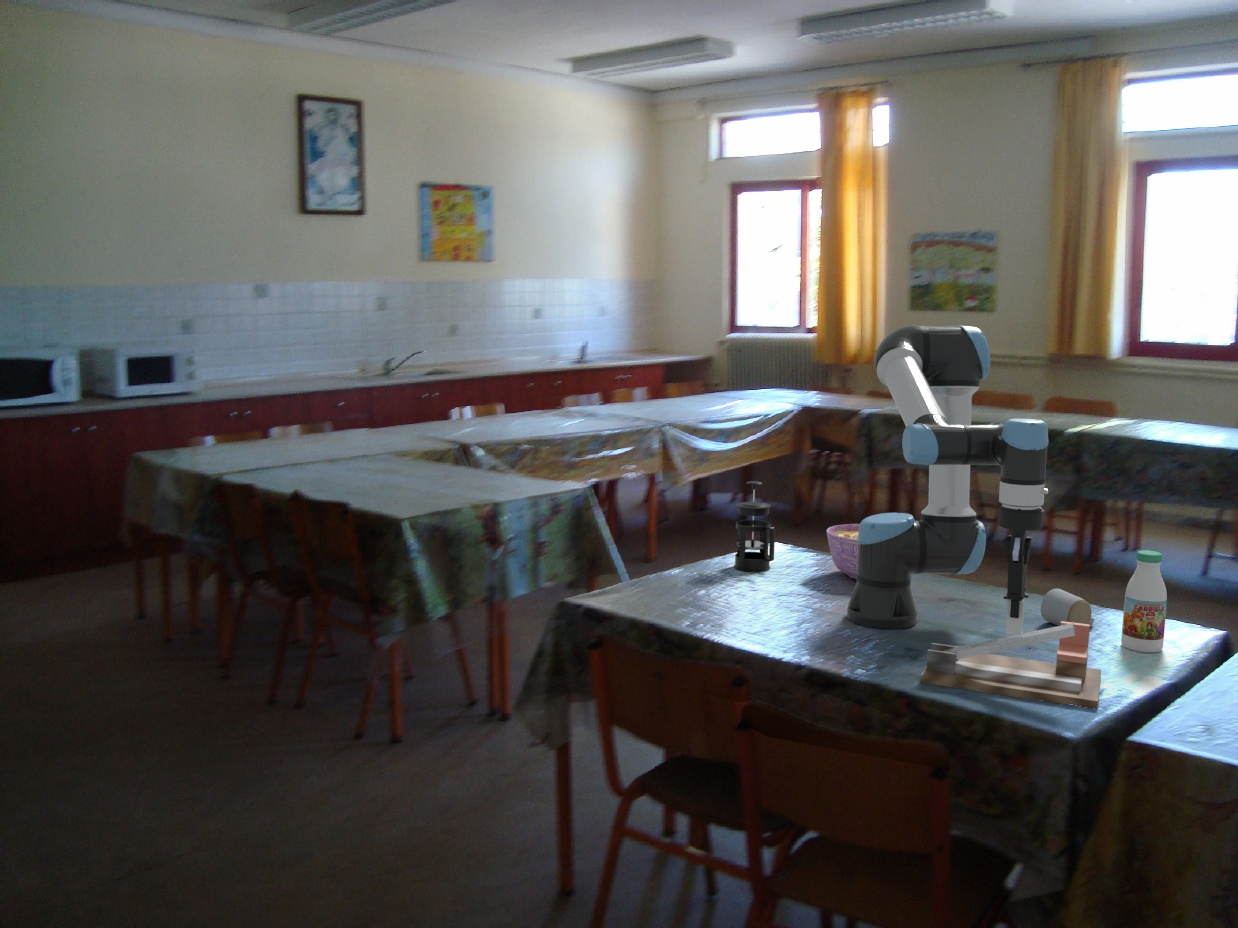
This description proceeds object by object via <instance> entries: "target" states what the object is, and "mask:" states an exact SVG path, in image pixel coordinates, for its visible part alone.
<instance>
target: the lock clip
mask: <svg viewBox="0 0 1238 928" xmlns="http://www.w3.org/2000/svg"><path fill="white" fill-rule="evenodd" d="M1071 623H1073V622H1064V621H1061V625H1066V624H1071ZM1073 624H1074V627H1075V630H1076V633H1075V636H1071V637H1066V638H1061V639H1059V644H1058V647H1057V652H1056V661H1057V660H1059V661H1067V662H1074V663H1081V664H1086V662H1087V663H1088V658H1087V655H1089V643H1090V628H1091V625H1089V624H1081V623H1073Z"/></svg>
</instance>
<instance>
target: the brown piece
mask: <svg viewBox="0 0 1238 928" xmlns="http://www.w3.org/2000/svg"><path fill="white" fill-rule="evenodd" d="M930 646H931V647H930V649H927V653H926V666H925V668H924V670H923V671H922V672H921V674H920V683H921V684H922V683H923V684H928V685H934V686H940V687H941V686H942V687H949V688H954V689H961V690H967V689H971V690H970V691H973V690H976V691H975V692H980V691H982V692H981V693H987V694H993V693H995V694H994V695H999V694H1000V696H1006V697H1014V698H1019V697H1020V699H1024V700H1025V699H1028V700H1033V701H1038V700H1043V701H1042V702H1045V701H1048V702H1047V703H1051V702H1054V703H1053V704H1058V703H1060V704H1059V705H1065V704H1073V705H1077V706H1076V707H1078V706H1081V707H1080V708H1084V707H1087V708H1086V709H1091V708H1095V709H1094V710H1098V709H1097V708H1098V706H1099V700H1100V699H1099V698H1100V689H1101V677H1102V669H1098V668H1092V667H1088V661H1087V662H1086V664H1081V663H1074V662H1067V661H1059V660H1057V659H1056V663H1055V662H1048V661H1042V660H1041V661H1040V660H1034V659H1027V658H1021V657H1020V658H1019V657H1013V656H1005V655H998V654H992V653H991V654H990V653H987V654H982V655H977V656H972V657H967V658H962V659H957V660H955V659H956V653H951V652H944V651H942V650H946V649H951V648H955V647H960V646H957V645H951V644H943V643H937V642H931V645H930ZM1088 655H1089V654H1088ZM1088 655H1087V659H1088V658H1089V656H1088Z"/></svg>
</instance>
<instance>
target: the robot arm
mask: <svg viewBox="0 0 1238 928" xmlns="http://www.w3.org/2000/svg"><path fill="white" fill-rule="evenodd" d="M873 359H874V361H873V365H874V370H875V374H876V376H877V378H878V380H879V382H880V383H881V384H882V385H884V386H885V387H887V388H888V390H889V391H888V392H889V393H890V394H891V397H892V399H893V401H894V404H895V406H896V408H897V410H898V412H899V414H900V416H901V418H902V421H903V423H904V425H905V428H904V431H903V433H902V439H901V440H902V441H901V444H902V445H901V446H902V451H903V452H902V453H903V454H902V455H903V458H904V460H905V461H906V462H907V463H909V464H913V465H922V466H929V467H928V504H927V505H926V506H925V508H924V509H922V511H921V512H920V520H915V518H914V516H913V515H912V514H910V513H907V512H885V513H884V512H883V513H878V514H873V515H870V516H867V517H864V518H863V519H862V520H861V521H860V523H859V524H860V526H859V533H858V539H857V542H858V556H857V579H856V583H855V587H854V588H853V592H852V594H851V596H850V599H849V602H848V604H847V608H846V609H847V610H846V617H847V618H846V619H848V621H851V622H852V623H855V624H857V625H860V626H864V627H869V628H875V629H886V630H888V629H889V630H890V629H893V630H897V629H905V628H910V627H912V626H914V625H916V624H917V623H918V610H917V608H918V607H917V605H916V602H915V598H914V595H913V591H912V588H911V585H912V582H911V581H912V575H913V574H914V575H925V574H926V575H935V574H936V575H946V574H948V575H952V576H956V575H961V574H962V575H966V574H971V573H974V572H975V571H977V570H978V568H979V566H980V565H981V563H982V560H983V558H984V555H985V552H986V545H987V543H986V542H987V535H986V529H985V525H984V524H983V522H982V521H980V520H978V519H977V513H976V512H975V510H974V509H973V508H972V507H971V506H970V493H971V492H970V485H971V484H970V482H971V466H1000V480H999V492H998V496H999V497H998V502H999V503H1000V504H1001V505H999V507H998V514H997V515H998V518H997V519H998V520H997V524H998V526H999V527H1001V528H1003V529H1008V530H1010V531H1011V535H1008V537H1006V548H1007V555H1006V557H1007V592H1006V594H1004V595H1003V599H1004V600H1007V604H1006V605H1007V606H1006V607H1007V608H1006V620H1005V621H1006V622H1005V625H1006V626H1005V634H1006V635H1012V636H1013V635H1021V636H1022V634H1023V628H1024V613H1025V612H1024V610H1025V608H1024V607H1025V599H1029V593H1026V590H1027V587H1026V581H1027V569H1028V562H1029V559H1030V552H1031V551H1030V550H1031V546H1032V542H1033V538H1032V537H1031V536H1029V531H1031V532H1032V531H1033V532H1034V531H1038V530H1041V529H1042V528H1043V525H1044V511H1045V510H1044V509H1043V508H1042V506H1044V503H1045V495H1048V494H1049V490H1048V488H1045V485H1046V484H1045V483H1046V476H1047V475H1046V474H1047V460H1048V448H1049V447H1048V446H1049V441H1050V440H1049V427H1048V424H1047V422H1045V421H1044V420H1041V419H1035V418H1008V419H1007V420H1006V421H1005V422H992V423H989V424H972V406H973V405H972V402H973V401H972V400H973V399H972V397H973V395H974V394H975V393H976V392H978V390H979V389H980V381H983V380H985V379H986V378H988V376H989V373H990V367H991V354H990V347H989V344H988V341H987V338H986V335H985V334H984V332H983V331H982V330H981V329H980V328H978V327H976V326H970V325H960V324H957V325H917V324H916V325H912V324H911V325H906V326H903V327H900V328H897V329H895V330H894V331H892V332H890V333H889V334H888V335H886V337H885V338H883V339H882V341H881V342H880V343H879V345H878V347H877V349H876V352H875V355H874V358H873Z"/></svg>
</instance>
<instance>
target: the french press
mask: <svg viewBox="0 0 1238 928" xmlns="http://www.w3.org/2000/svg"><path fill="white" fill-rule="evenodd" d="M746 484H747V485H751V486H752V487H751V488H752V490H753V493H752V496H753V497H752V501H743V502H739V503H738V502H737V503H736V507H737V513H738V514H739V515H741V516H748V517H752V519H743V520H738V521H736V522H735V529H736V530H737V542H736V547H737V548H736V553H735V554H734V555H735V556H734V559H735V560H734V566H733V567H734V569H735V570H737V571H740V572H745V573H763V572H767V571H770V569H771V566H770V562H772V561H775V540H776V539H775V537H776V536H775V535H776V529H775V526H771V522H769V521H765V520H758V519H755V517H762V516H767V515H769V514H770V508H772V505H771V504H769V503H767V502H759V501H755V499H756V497H755V495H756V493H755V492H756V489H757V486H759V485H760V486H761V485H762V484H763V482H761V481H757V480H753V481H752V480H751V481H746ZM747 532H750V533H751V539H750V540H747V539H746V537H747V536H746V534H747ZM755 533H759V540H755V539H754V535H755ZM746 550H751V551H746ZM752 550H753V551H752ZM757 550H758V551H757Z"/></svg>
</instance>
